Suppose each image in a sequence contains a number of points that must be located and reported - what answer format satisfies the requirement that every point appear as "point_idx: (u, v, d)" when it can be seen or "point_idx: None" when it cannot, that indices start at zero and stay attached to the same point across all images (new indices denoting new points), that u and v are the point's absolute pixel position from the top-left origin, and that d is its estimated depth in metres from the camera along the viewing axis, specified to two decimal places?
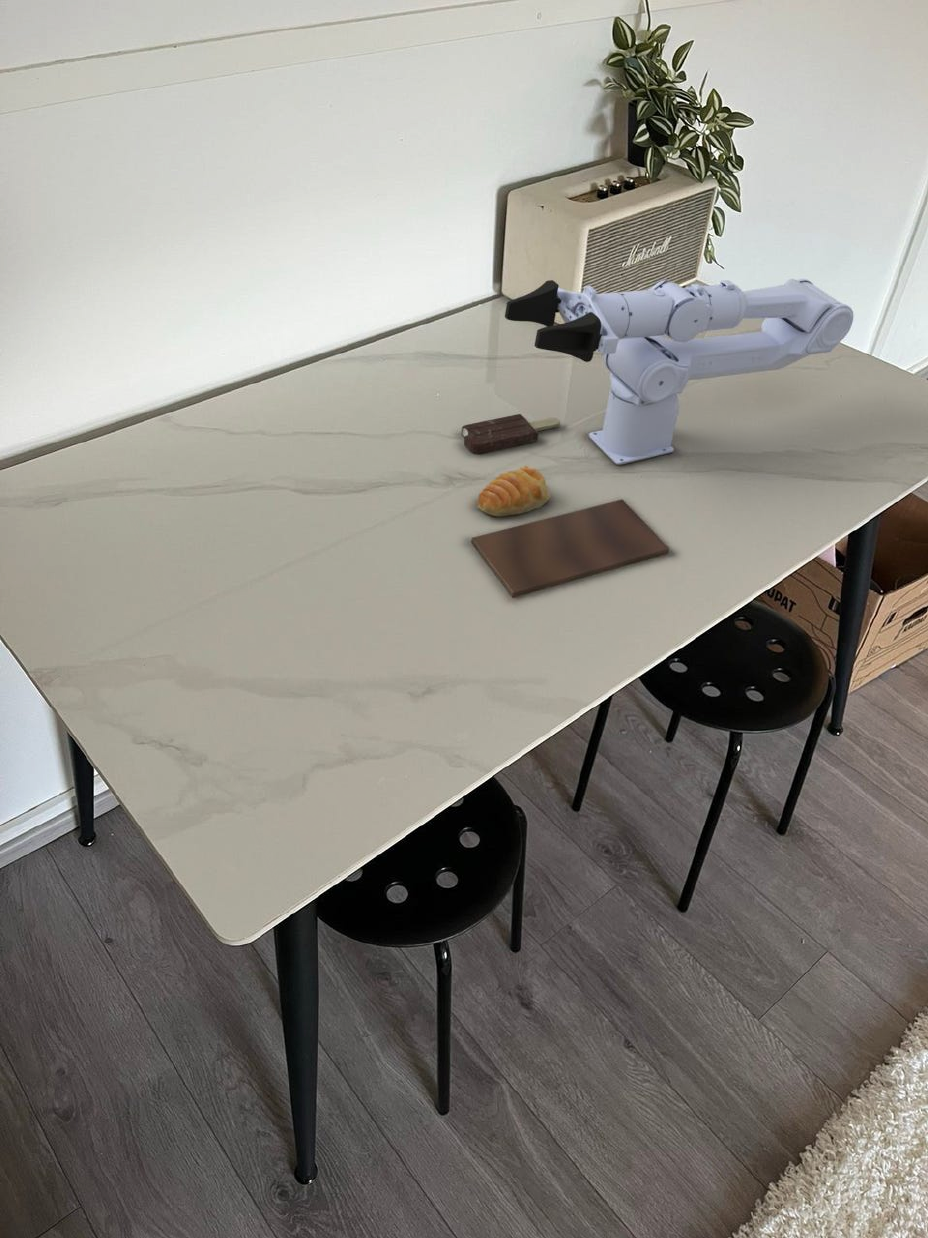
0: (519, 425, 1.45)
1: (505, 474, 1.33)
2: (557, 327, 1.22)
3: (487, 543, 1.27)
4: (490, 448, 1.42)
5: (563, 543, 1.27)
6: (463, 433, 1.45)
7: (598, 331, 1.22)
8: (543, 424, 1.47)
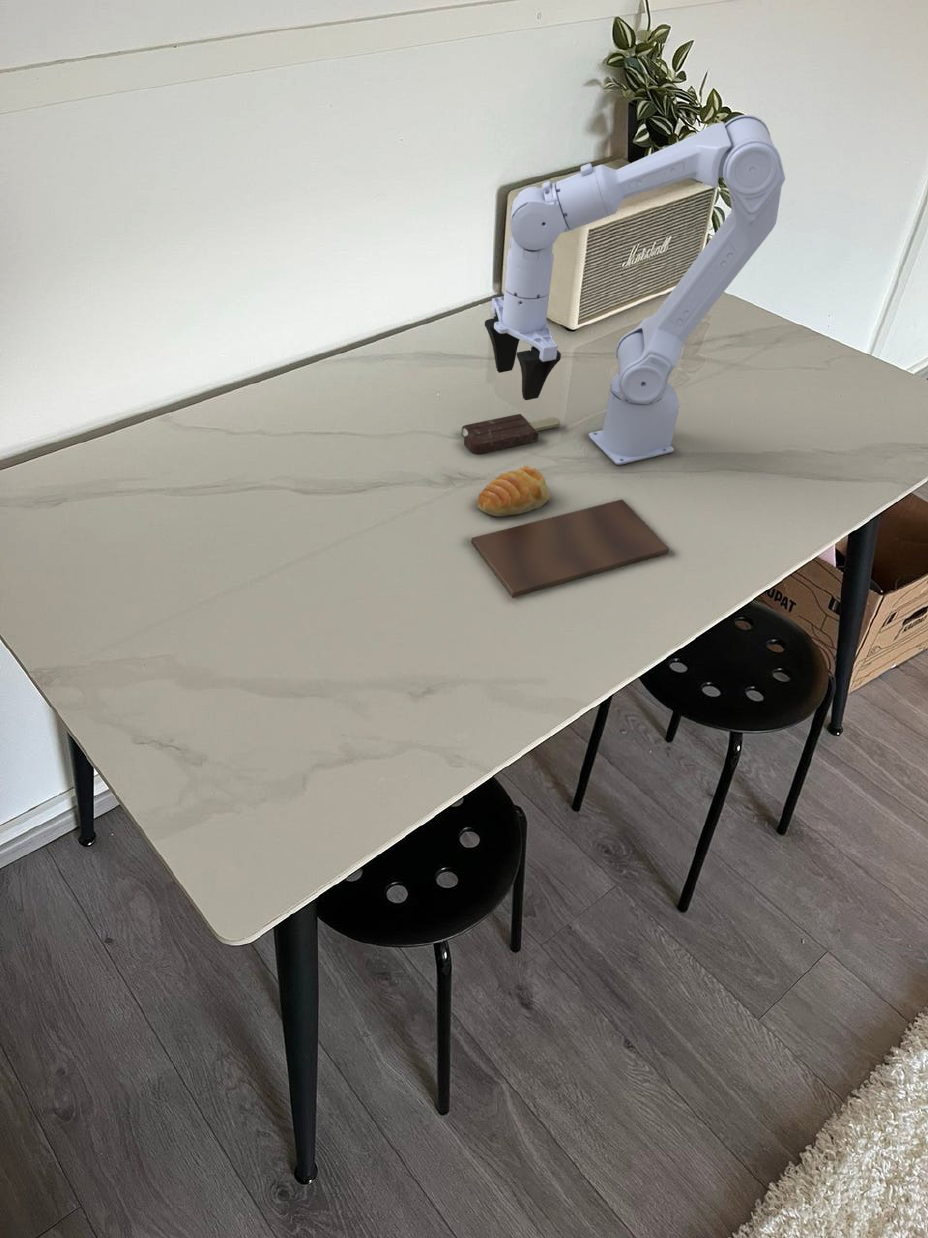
0: (519, 425, 1.45)
1: (505, 474, 1.33)
2: (524, 385, 1.36)
3: (487, 543, 1.27)
4: (490, 448, 1.42)
5: (563, 543, 1.27)
6: (463, 433, 1.45)
7: (534, 361, 1.31)
8: (543, 424, 1.47)
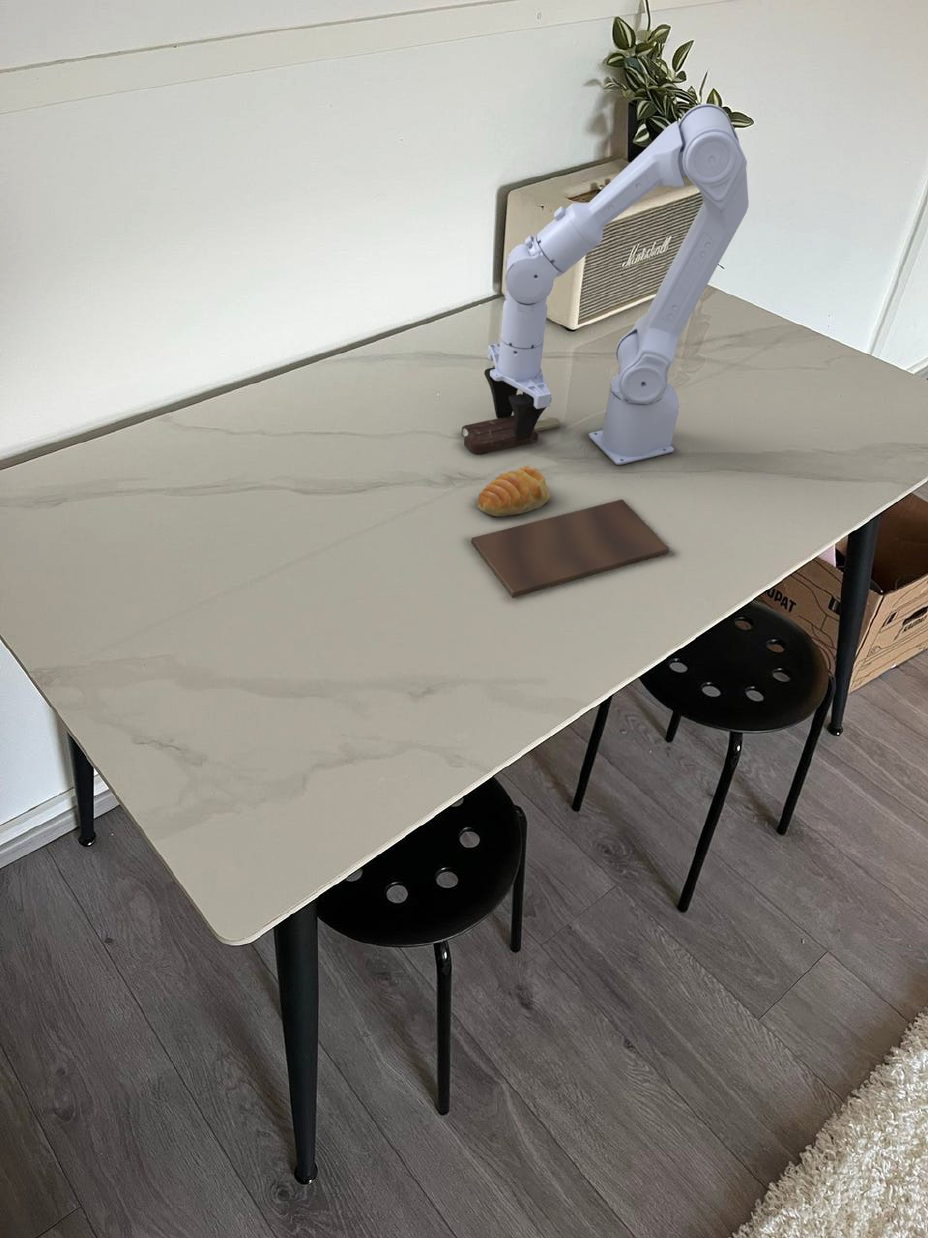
0: None
1: (505, 474, 1.33)
2: (516, 427, 1.41)
3: (487, 543, 1.27)
4: (490, 449, 1.42)
5: (563, 543, 1.27)
6: (463, 433, 1.45)
7: (525, 405, 1.36)
8: (543, 424, 1.47)
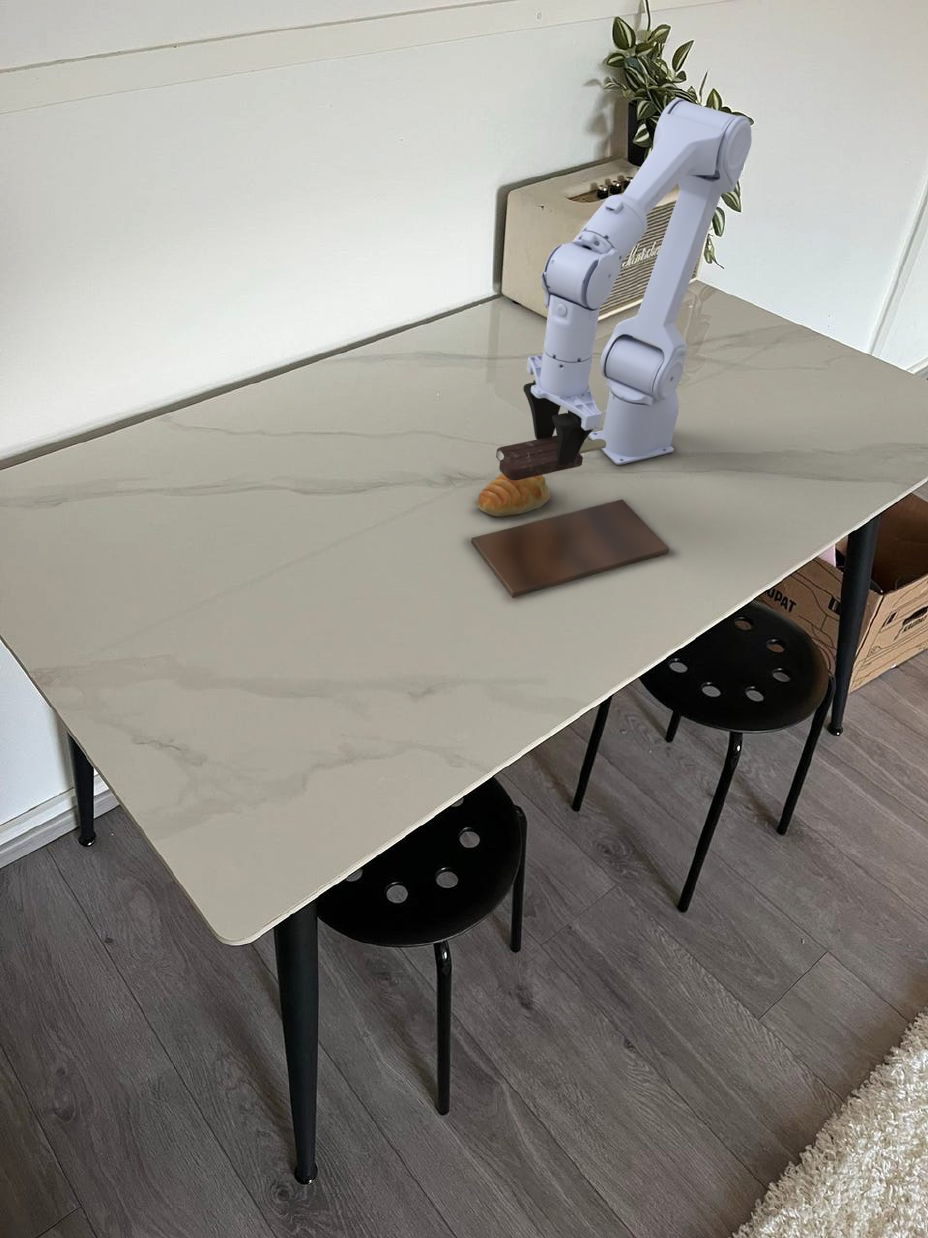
0: None
1: None
2: (559, 450, 1.25)
3: (487, 543, 1.27)
4: (529, 474, 1.26)
5: (563, 543, 1.27)
6: (498, 456, 1.28)
7: (572, 426, 1.20)
8: (588, 446, 1.30)
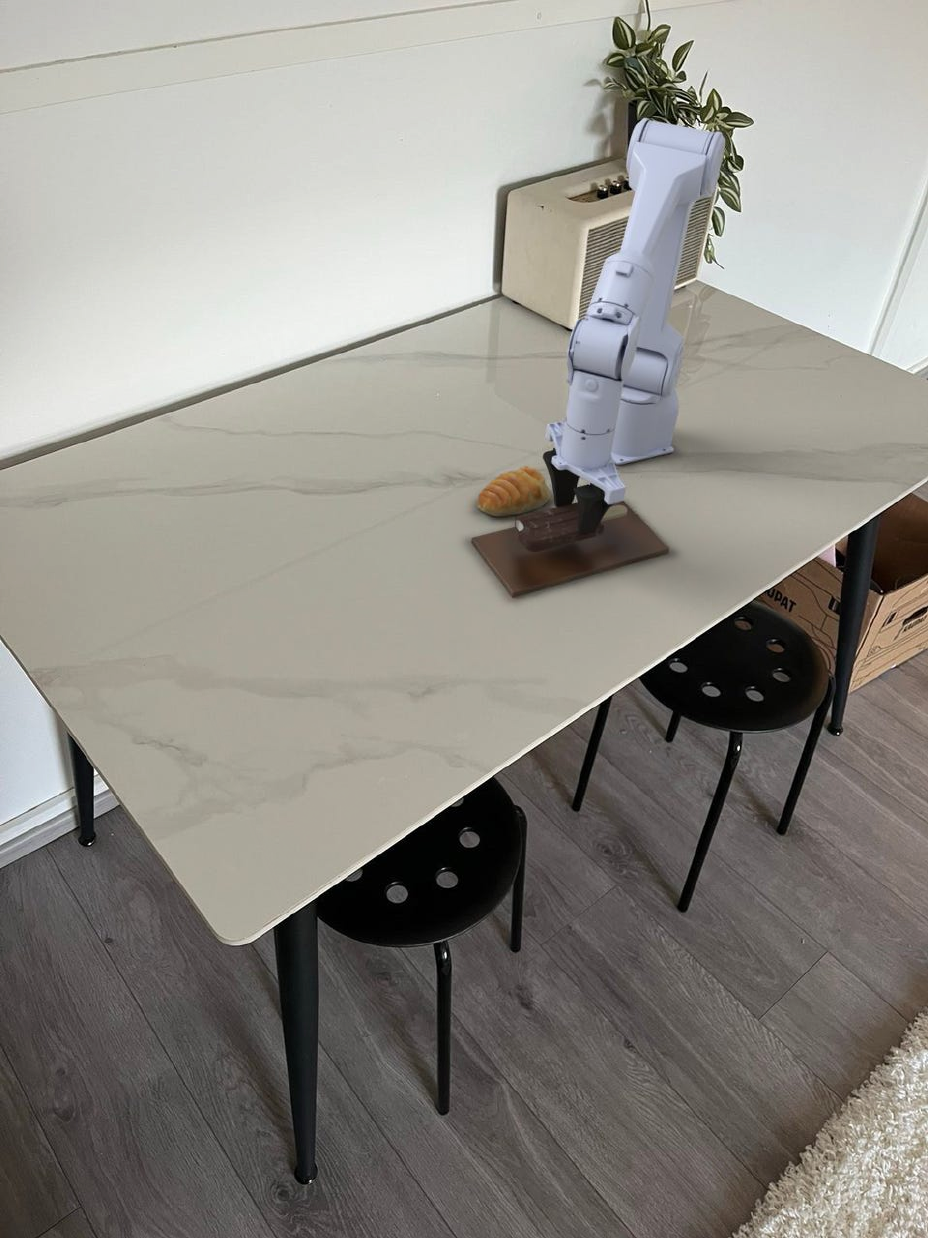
0: None
1: (505, 474, 1.33)
2: (580, 521, 1.21)
3: (487, 543, 1.27)
4: (549, 545, 1.22)
5: None
6: (517, 526, 1.25)
7: (594, 499, 1.16)
8: (608, 514, 1.26)
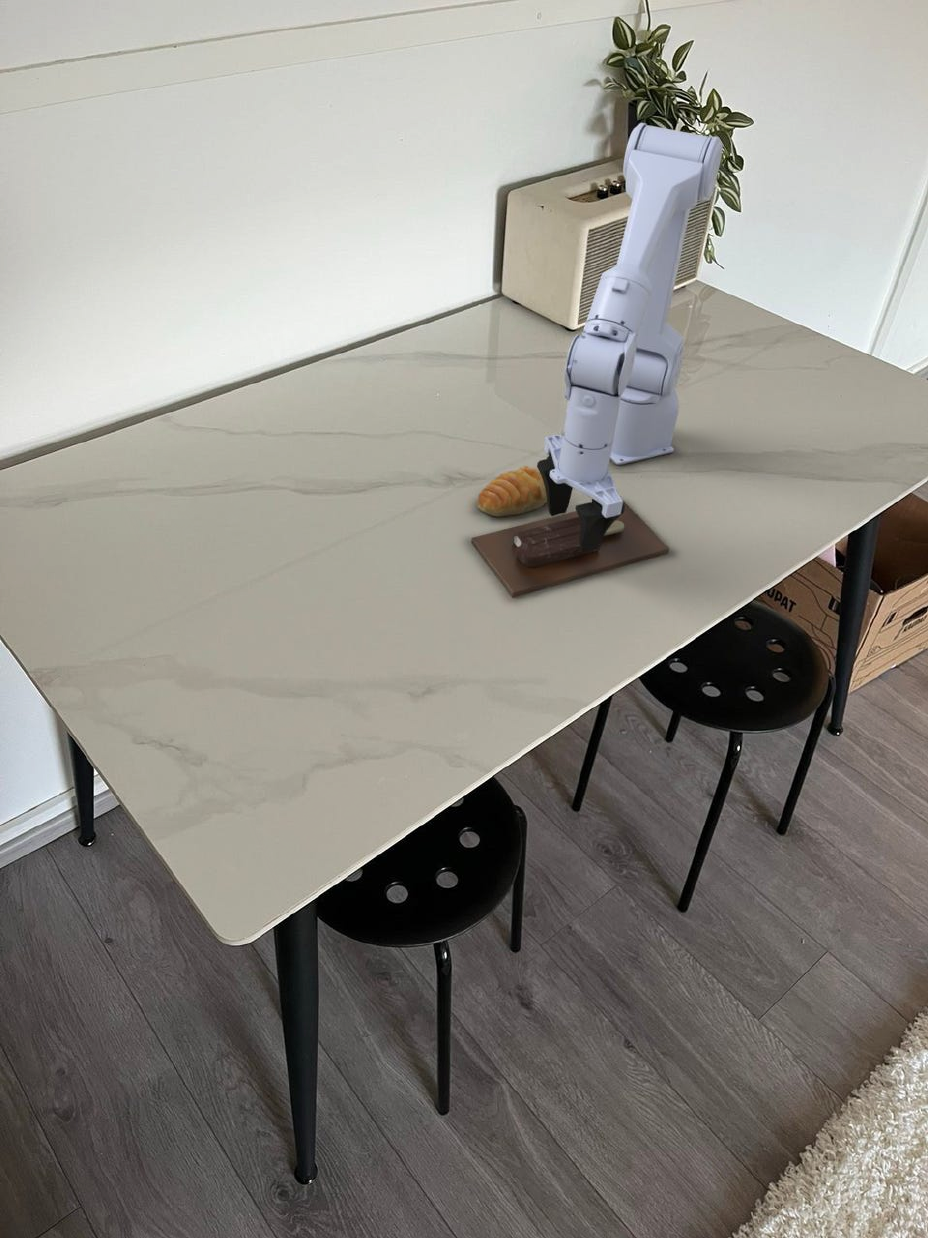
0: (579, 532, 1.27)
1: (505, 474, 1.33)
2: (582, 538, 1.21)
3: (487, 543, 1.27)
4: (547, 561, 1.24)
5: None
6: (515, 541, 1.26)
7: (596, 517, 1.17)
8: None
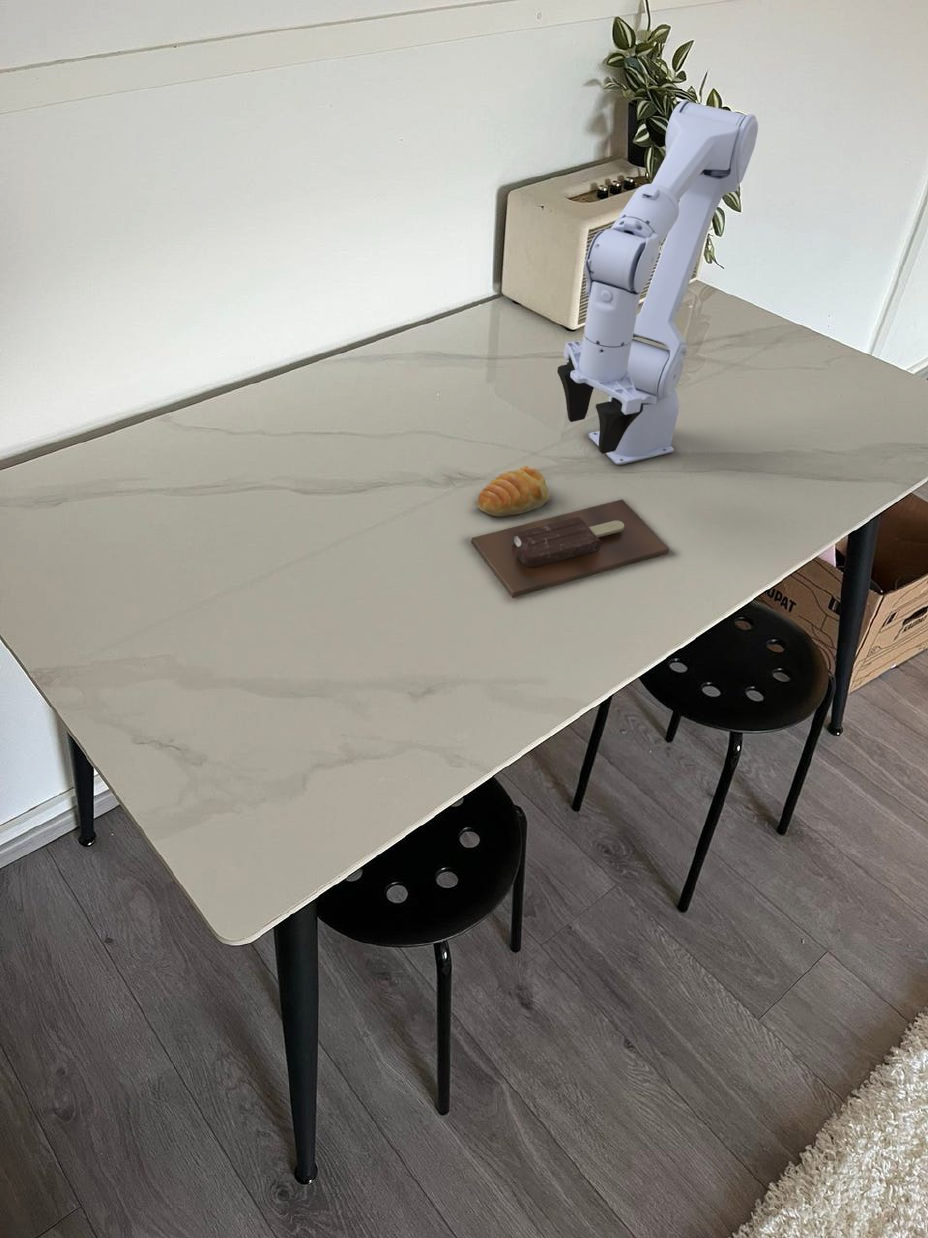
0: (579, 532, 1.27)
1: (505, 474, 1.33)
2: (601, 438, 1.25)
3: (487, 543, 1.27)
4: (547, 561, 1.24)
5: None
6: (515, 541, 1.26)
7: (615, 414, 1.21)
8: (605, 529, 1.28)
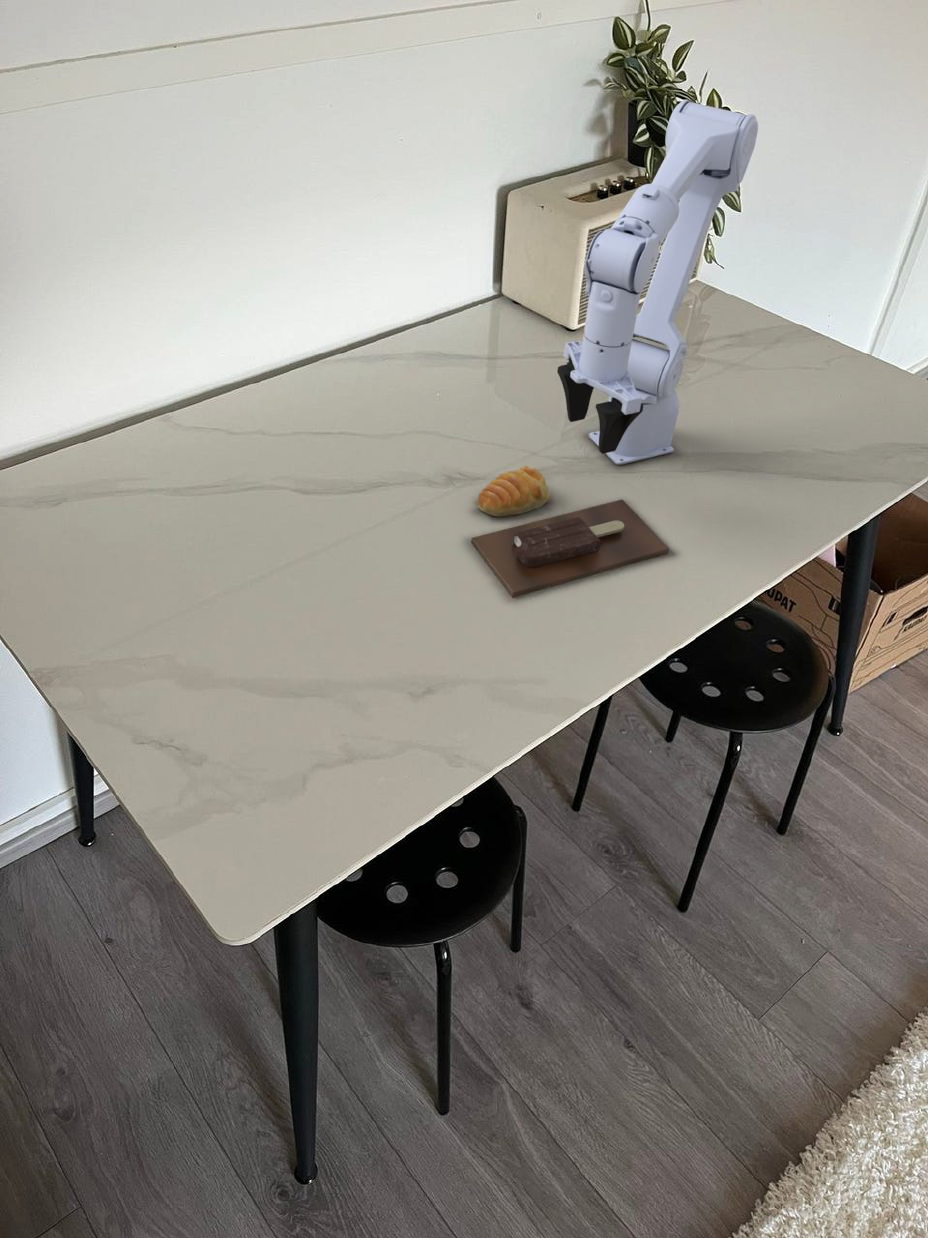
0: (579, 532, 1.27)
1: (505, 474, 1.33)
2: (601, 438, 1.25)
3: (487, 543, 1.27)
4: (547, 561, 1.24)
5: None
6: (515, 541, 1.26)
7: (615, 414, 1.21)
8: (605, 529, 1.28)
